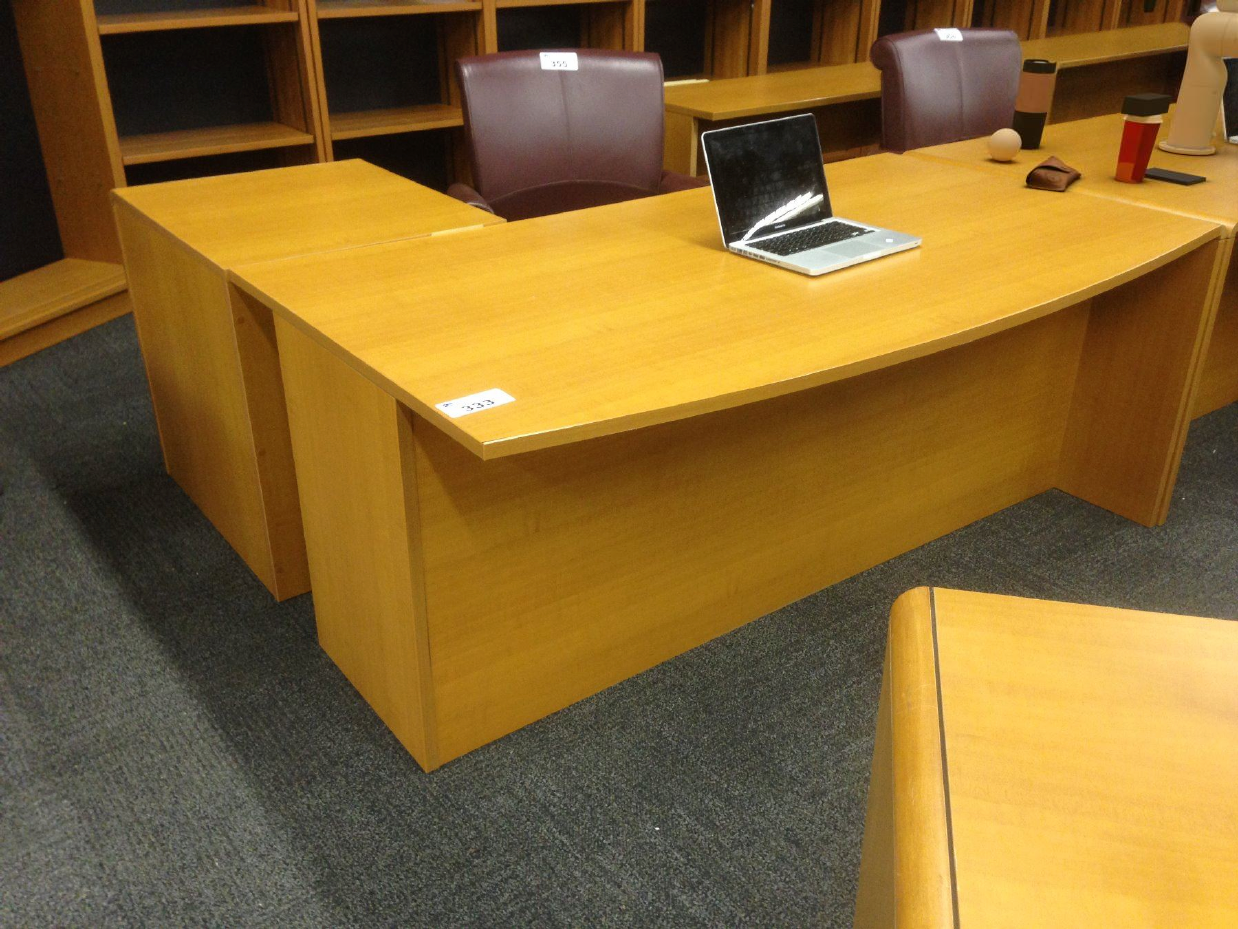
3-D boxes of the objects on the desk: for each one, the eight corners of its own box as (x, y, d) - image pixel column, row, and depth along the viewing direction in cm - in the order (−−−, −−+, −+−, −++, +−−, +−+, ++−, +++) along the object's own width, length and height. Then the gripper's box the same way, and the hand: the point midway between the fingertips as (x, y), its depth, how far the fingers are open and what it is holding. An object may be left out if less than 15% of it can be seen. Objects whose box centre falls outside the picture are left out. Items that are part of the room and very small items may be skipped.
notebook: (1153, 170, 238) (1154, 167, 238) (1205, 180, 230) (1206, 177, 229) (1134, 174, 234) (1135, 171, 234) (1187, 185, 226) (1188, 181, 225)
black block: (1145, 109, 227) (1149, 92, 225) (1167, 113, 224) (1172, 95, 222) (1120, 113, 222) (1124, 96, 220) (1142, 117, 218) (1147, 99, 217)
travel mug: (1006, 147, 259) (1022, 61, 250) (1009, 142, 265) (1024, 57, 256) (1039, 150, 256) (1057, 63, 247) (1040, 144, 263) (1058, 60, 253)
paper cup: (1146, 177, 231) (1162, 111, 225) (1149, 185, 225) (1166, 117, 218) (1107, 174, 234) (1123, 109, 227) (1110, 181, 227) (1125, 114, 221)
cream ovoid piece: (1017, 165, 240) (1024, 132, 237) (984, 162, 243) (989, 129, 239) (1019, 157, 249) (1025, 125, 245) (986, 154, 251) (992, 122, 248)
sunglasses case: (1066, 189, 217) (1055, 159, 216) (1033, 203, 222) (1021, 173, 221) (1082, 174, 231) (1072, 145, 230) (1051, 187, 235) (1040, 159, 234)
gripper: (1241, -74, 216) (1217, 16, 224) (1160, -76, 228) (1141, 10, 236) (1223, -74, 212) (1200, 18, 220) (1142, -76, 224) (1123, 11, 232)
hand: (1169, 14), depth 228 cm, fingers open, 9 cm apart
